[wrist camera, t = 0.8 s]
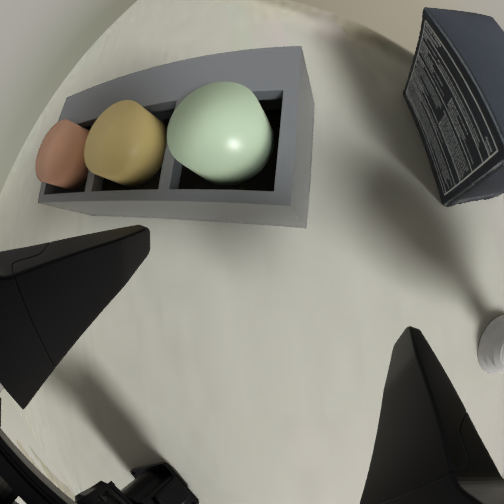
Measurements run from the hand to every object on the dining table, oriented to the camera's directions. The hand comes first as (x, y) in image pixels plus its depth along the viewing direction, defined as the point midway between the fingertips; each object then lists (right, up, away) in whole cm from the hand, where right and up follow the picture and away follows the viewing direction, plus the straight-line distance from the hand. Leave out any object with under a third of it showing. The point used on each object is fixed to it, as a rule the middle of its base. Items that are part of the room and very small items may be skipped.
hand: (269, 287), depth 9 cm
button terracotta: (-15, +9, +12) cm, 21 cm away
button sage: (-2, +7, +8) cm, 11 cm away
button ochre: (-8, +8, +10) cm, 15 cm away
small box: (+16, +10, +10) cm, 21 cm away
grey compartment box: (-6, +9, +16) cm, 20 cm away
